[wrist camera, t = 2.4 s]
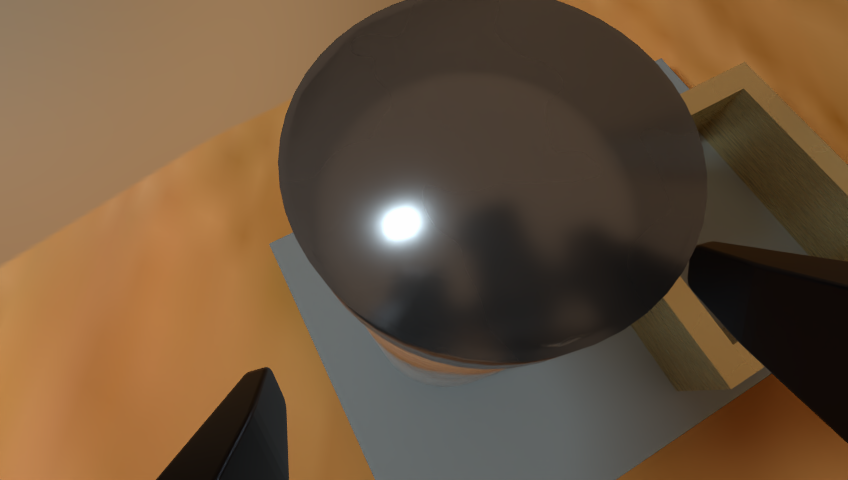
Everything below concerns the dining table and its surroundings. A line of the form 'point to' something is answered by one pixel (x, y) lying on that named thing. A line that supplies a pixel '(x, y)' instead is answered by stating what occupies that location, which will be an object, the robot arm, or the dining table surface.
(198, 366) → the dining table surface
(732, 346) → the tan square tray
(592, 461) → the board
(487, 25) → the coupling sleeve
